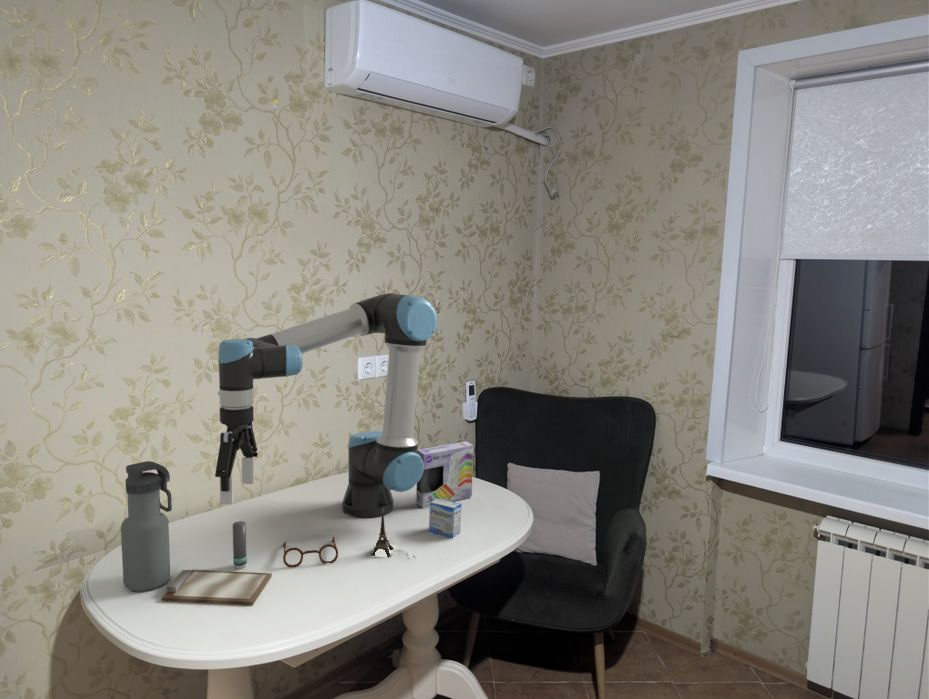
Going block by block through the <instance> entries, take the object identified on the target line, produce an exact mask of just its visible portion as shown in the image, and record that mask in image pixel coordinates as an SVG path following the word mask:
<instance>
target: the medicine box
mask: <svg viewBox="0 0 929 699" xmlns="http://www.w3.org/2000/svg"><path fill="white" fill-rule="evenodd" d="M462 507H463V506H462V503H459V502H456V501H452V502H451V501H447V500H442V499H438V498H437V499H435V500H433V501H432V502H431V503H430V507H429V514H428V515H429V516H428V518H429V519H428V532H429V533H432V534H434V535H435V534H436V535H439V534H440V536H443V535H444V537H447V536H448V537H447V538H451V537H452V539H454V538H455V537H457V536H458V535H459V534H460V533H461V531H462V530H461V529H462V528H461V527H462V526H461V525H462ZM456 535H457V536H456ZM453 537H454V538H453Z"/></svg>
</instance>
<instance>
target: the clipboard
mask: <svg viewBox="0 0 929 699" xmlns="http://www.w3.org/2000/svg"><path fill="white" fill-rule="evenodd" d="M272 576H273V574H272V573H271V572H250V571H249V572H248V571H232V570H231V571H230V570H229V571H227V570H226V571H225V570H208V569H207V570H204V569H203V570H202V569H182V570H181V571H180V572H179V573H178V574H177V575H176V577H174V578H173V580H172V581H171V582H170V583H169V584H168V585H167V586H166V592H165V593H164V595H162V596H161V602H173V603H174V602H175V603H192V604H194V603H195V604H197V603H198V604H215V605H216V604H219V605H237V606H238V605H239V606H254V604H255V603H256V601H257V599H258V598H259V597H260V595H261V593H262V592H263V590H264V589H265V588H266V586H267V585H268V583H269V582H270V579H271V578H272Z"/></svg>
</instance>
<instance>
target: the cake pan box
mask: <svg viewBox="0 0 929 699" xmlns="http://www.w3.org/2000/svg"><path fill="white" fill-rule="evenodd" d="M417 454H418V455H419V456H420V457H421V459H422V460H423V463H424V470H423V474H422V477H421V478H420V480H419V482H418V483H416V489H415V490H416V491H415V492H416V497H415V501H416V505H417V506H419V507H420V508H422V509H427V508H430V503H431V502H432V501H433V500H435V499H437V498H438V499H442V500H447V501H451V502H456V501H459V500H463V499H464V500H465V499H467V498H472V497H473V473H474V472H473V470H474V469H473V468H474V466H473V464H474V462H473V461H474V444H472V443H471V442H469V441H465V440H464V441H462V442H456V443H455V442H454V443H448V444H441V445H440V444H439V445H436V446H433V447H432V446H431V447H427V448H419V449H417Z"/></svg>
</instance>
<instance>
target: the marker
mask: <svg viewBox="0 0 929 699" xmlns="http://www.w3.org/2000/svg"><path fill="white" fill-rule="evenodd" d="M232 552H233V553H232V555H233V556H232V560H233V561H232V562H233V565H234V569H236V570H243V569H245V568H246V564H248V563H247V560H248V558H247V557H248V555H247V523H246V522H245V521H242V520H240V521H235V522H233V523H232Z"/></svg>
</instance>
